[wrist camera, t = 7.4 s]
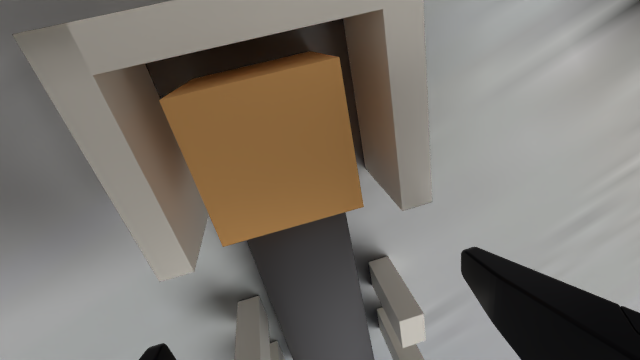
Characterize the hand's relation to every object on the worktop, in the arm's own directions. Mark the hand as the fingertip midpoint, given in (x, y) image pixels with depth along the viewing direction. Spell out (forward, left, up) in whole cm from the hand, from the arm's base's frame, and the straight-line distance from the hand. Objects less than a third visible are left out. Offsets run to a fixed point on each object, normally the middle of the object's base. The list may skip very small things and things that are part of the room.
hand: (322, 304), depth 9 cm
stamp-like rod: (-1, 0, -5) cm, 5 cm away
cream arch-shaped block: (+5, 0, -5) cm, 7 cm away
